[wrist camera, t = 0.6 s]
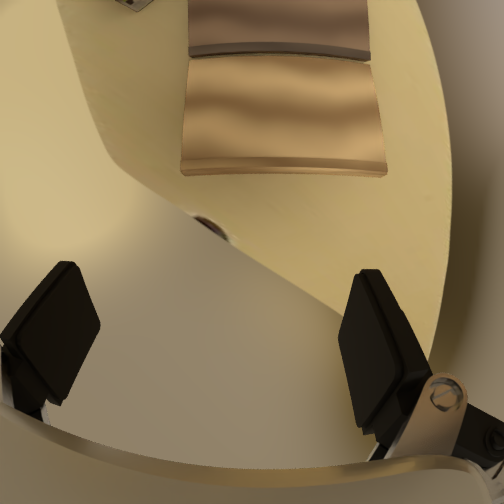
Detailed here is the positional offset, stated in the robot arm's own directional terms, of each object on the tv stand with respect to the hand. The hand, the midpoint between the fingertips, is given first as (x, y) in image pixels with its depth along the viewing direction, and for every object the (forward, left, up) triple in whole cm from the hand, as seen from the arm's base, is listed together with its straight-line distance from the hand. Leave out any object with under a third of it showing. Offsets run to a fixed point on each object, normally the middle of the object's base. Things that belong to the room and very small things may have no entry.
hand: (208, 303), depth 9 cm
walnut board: (-15, +4, -24) cm, 28 cm away
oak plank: (-4, +4, -21) cm, 21 cm away
